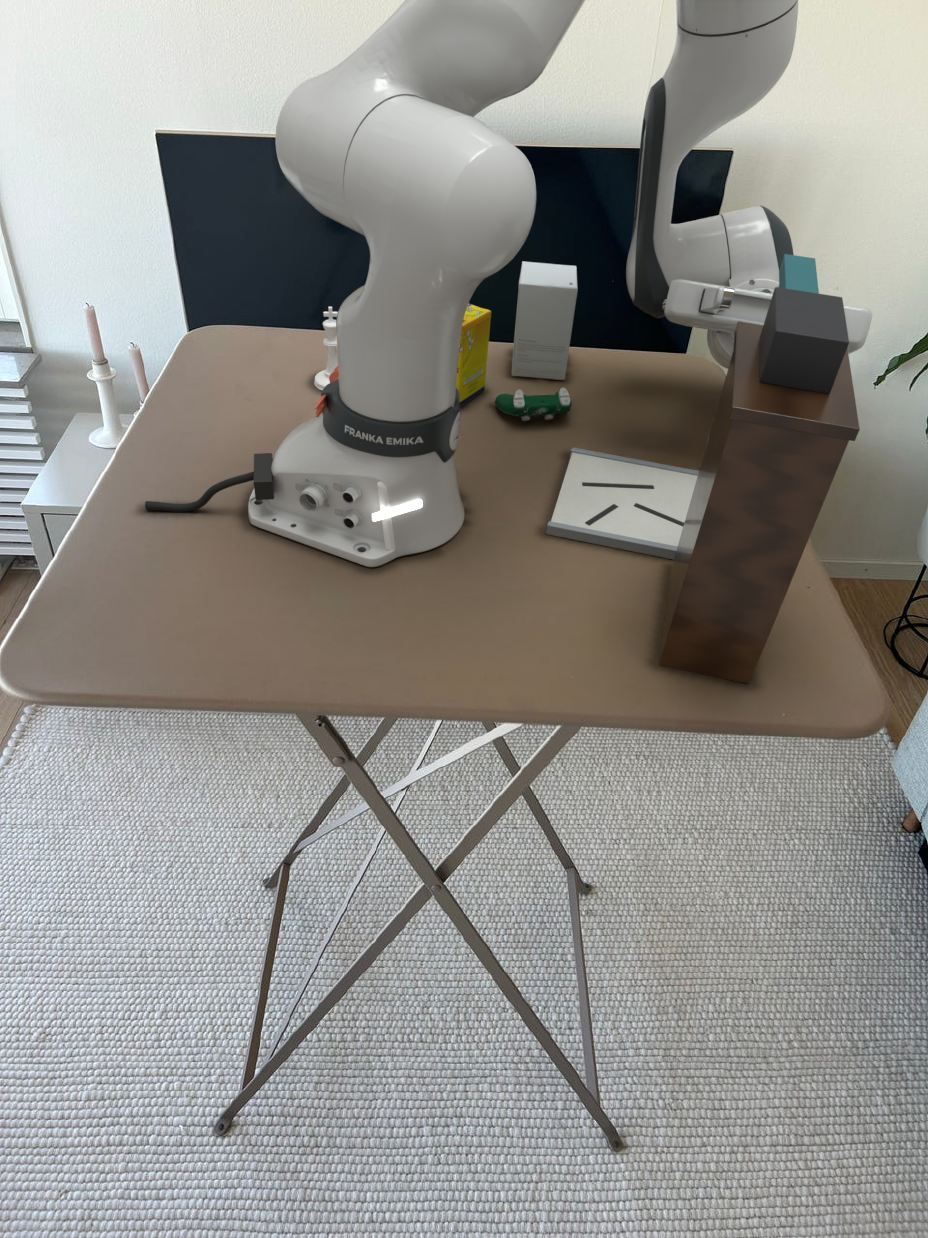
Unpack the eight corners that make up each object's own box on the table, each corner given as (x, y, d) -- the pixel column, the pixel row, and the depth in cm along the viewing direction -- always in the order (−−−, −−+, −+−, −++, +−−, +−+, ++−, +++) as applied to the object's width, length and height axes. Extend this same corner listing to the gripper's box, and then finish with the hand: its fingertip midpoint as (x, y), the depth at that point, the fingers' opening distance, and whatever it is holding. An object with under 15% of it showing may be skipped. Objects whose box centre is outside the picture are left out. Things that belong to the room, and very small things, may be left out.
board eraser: (759, 382, 64) (775, 330, 61) (760, 283, 78) (774, 236, 75) (829, 394, 63) (849, 342, 60) (818, 292, 77) (834, 245, 74)
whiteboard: (545, 534, 92) (547, 525, 91) (570, 455, 103) (571, 446, 103) (723, 569, 89) (726, 560, 89) (728, 485, 101) (731, 476, 100)
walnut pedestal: (655, 666, 79) (732, 406, 61) (668, 566, 89) (737, 320, 72) (752, 687, 78) (860, 428, 60) (754, 584, 88) (846, 338, 70)
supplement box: (420, 393, 112) (422, 310, 104) (447, 376, 116) (451, 294, 108) (458, 409, 110) (463, 325, 102) (485, 391, 113) (492, 308, 106)
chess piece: (314, 373, 114) (309, 298, 107) (352, 373, 115) (350, 298, 108) (314, 392, 111) (309, 316, 104) (353, 392, 111) (351, 316, 104)
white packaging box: (565, 356, 122) (579, 264, 113) (564, 382, 116) (578, 287, 108) (512, 350, 122) (521, 259, 113) (509, 376, 117) (518, 282, 108)
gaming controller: (495, 427, 110) (506, 414, 105) (492, 396, 111) (503, 383, 105) (566, 423, 112) (580, 411, 106) (563, 393, 112) (577, 379, 106)
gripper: (667, 277, 98) (673, 252, 85) (857, 308, 95) (894, 286, 82) (654, 336, 99) (658, 320, 86) (841, 367, 96) (874, 356, 83)
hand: (775, 304), depth 84 cm, fingers open, 8 cm apart
